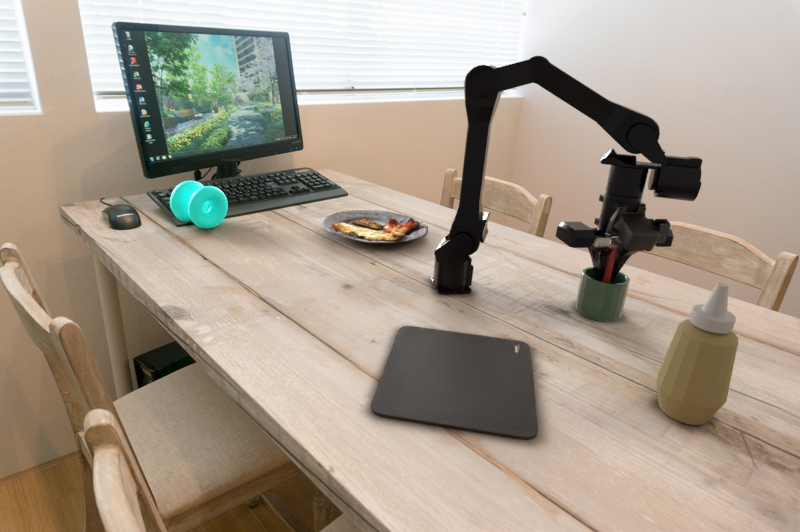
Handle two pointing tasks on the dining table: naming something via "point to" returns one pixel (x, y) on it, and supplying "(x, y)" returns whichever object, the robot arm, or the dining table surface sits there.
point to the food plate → (375, 226)
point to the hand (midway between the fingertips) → (604, 280)
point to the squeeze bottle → (699, 362)
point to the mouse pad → (459, 382)
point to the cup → (601, 296)
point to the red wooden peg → (610, 264)
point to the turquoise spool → (199, 204)
